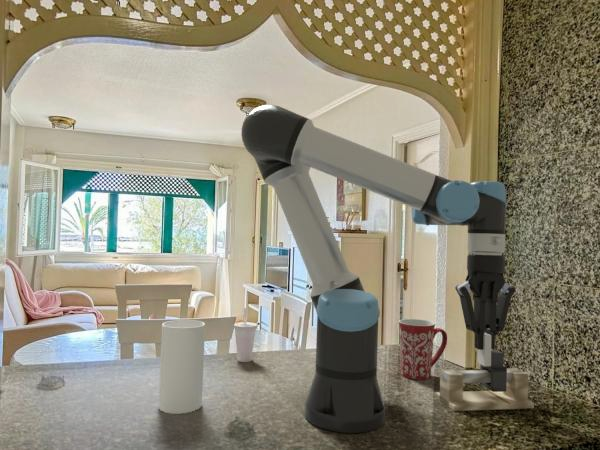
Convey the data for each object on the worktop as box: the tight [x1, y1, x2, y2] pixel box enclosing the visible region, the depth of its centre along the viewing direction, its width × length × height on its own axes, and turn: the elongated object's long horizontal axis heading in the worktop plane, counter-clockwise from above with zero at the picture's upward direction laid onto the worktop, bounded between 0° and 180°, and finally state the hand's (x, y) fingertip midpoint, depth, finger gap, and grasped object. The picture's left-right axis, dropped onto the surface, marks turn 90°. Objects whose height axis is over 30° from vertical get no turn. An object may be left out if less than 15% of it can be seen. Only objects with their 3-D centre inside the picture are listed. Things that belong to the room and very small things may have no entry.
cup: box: [158, 319, 206, 415], centre depth 88 cm, size 8×8×16 cm
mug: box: [398, 318, 448, 381], centre depth 114 cm, size 13×9×14 cm
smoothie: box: [233, 307, 258, 363], centre depth 122 cm, size 6×6×14 cm
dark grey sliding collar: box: [479, 349, 507, 392], centre depth 96 cm, size 3×5×8 cm, turn 10°
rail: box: [434, 367, 535, 412], centre depth 96 cm, size 18×8×7 cm, turn 100°
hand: (484, 364), depth 96 cm, fingers closed
